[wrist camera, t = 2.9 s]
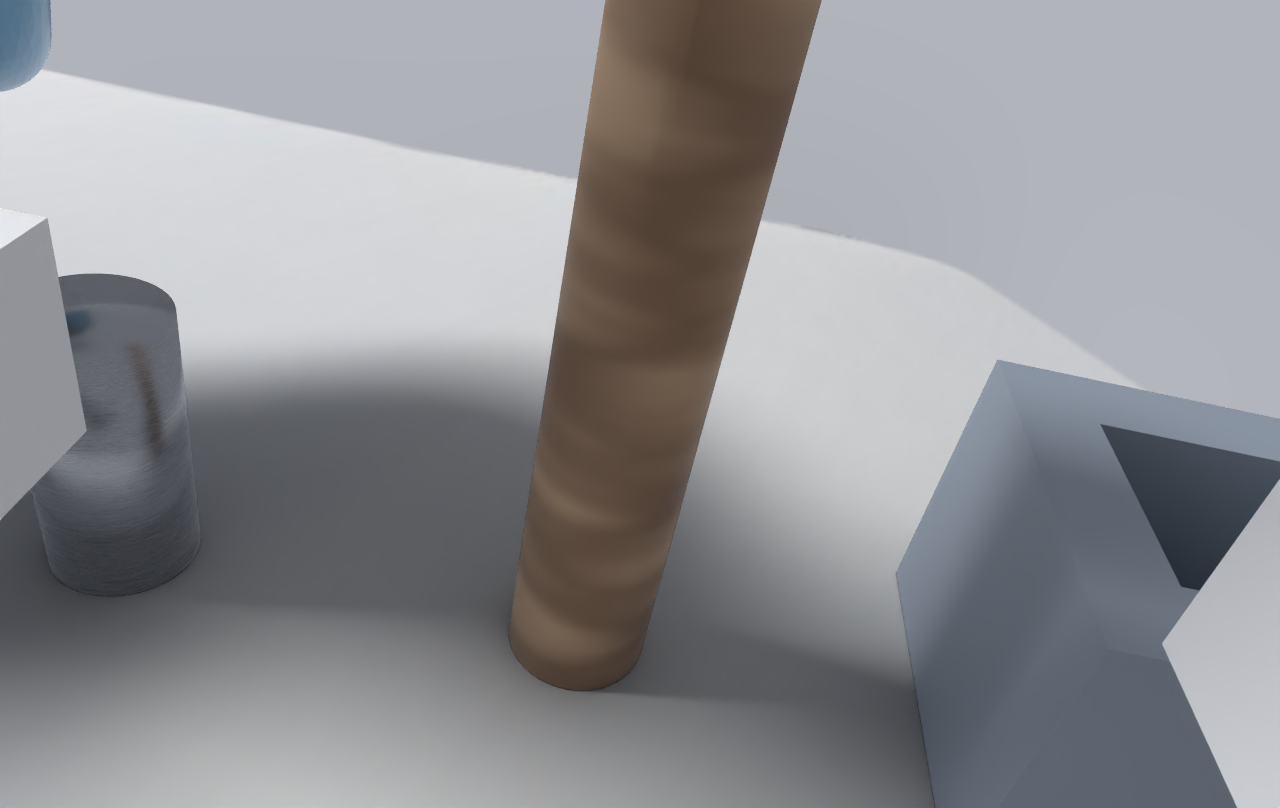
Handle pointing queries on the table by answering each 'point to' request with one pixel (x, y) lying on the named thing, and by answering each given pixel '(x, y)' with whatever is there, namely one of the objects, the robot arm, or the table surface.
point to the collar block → (1074, 591)
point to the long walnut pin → (646, 312)
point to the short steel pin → (122, 445)
